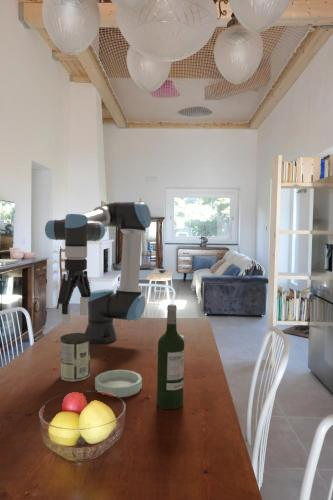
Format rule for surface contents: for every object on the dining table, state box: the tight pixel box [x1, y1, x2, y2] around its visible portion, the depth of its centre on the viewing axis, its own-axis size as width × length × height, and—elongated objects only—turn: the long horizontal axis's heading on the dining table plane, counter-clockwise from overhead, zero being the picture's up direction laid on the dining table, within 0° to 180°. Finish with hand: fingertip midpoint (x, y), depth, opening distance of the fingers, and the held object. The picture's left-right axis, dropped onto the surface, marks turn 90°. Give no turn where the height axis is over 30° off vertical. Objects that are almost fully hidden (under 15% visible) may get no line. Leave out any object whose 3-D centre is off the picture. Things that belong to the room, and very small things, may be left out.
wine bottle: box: [156, 303, 185, 410], centre depth 115 cm, size 8×8×30 cm
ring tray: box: [94, 369, 143, 398], centre depth 127 cm, size 15×15×3 cm
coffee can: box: [59, 332, 91, 382], centre depth 136 cm, size 10×10×14 cm
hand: (75, 319), depth 135 cm, fingers open, 13 cm apart
